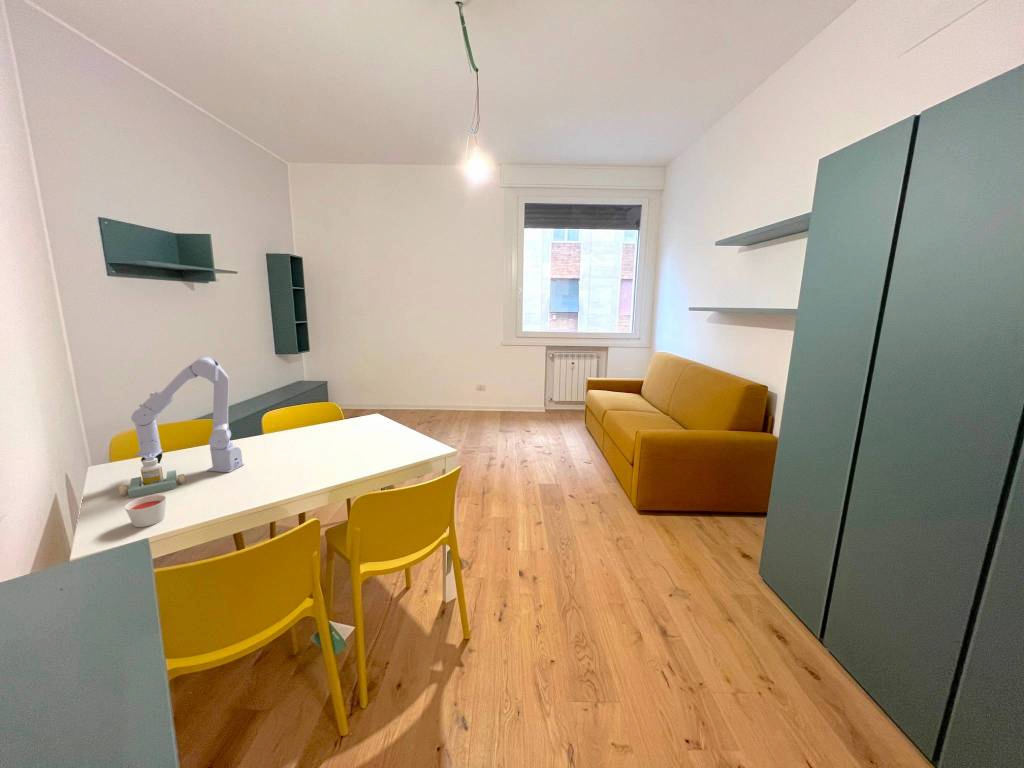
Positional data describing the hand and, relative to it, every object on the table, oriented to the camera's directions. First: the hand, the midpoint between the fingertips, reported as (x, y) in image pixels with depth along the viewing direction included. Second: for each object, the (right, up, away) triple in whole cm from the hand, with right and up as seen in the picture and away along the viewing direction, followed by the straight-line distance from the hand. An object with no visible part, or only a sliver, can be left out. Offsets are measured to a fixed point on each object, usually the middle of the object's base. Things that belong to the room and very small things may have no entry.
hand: (155, 474), depth 145 cm
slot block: (+5, -3, -6) cm, 8 cm away
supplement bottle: (+4, -3, -5) cm, 7 cm away
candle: (+23, -8, -27) cm, 36 cm away
